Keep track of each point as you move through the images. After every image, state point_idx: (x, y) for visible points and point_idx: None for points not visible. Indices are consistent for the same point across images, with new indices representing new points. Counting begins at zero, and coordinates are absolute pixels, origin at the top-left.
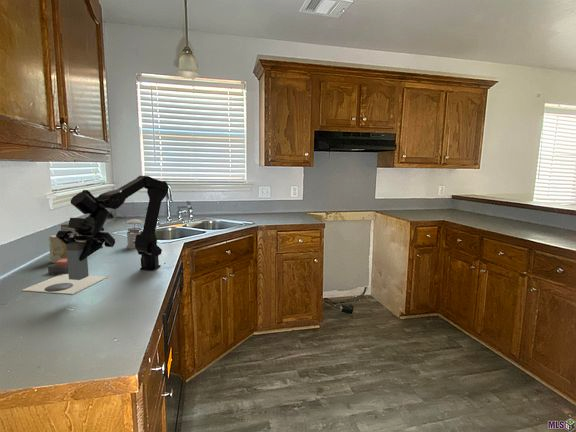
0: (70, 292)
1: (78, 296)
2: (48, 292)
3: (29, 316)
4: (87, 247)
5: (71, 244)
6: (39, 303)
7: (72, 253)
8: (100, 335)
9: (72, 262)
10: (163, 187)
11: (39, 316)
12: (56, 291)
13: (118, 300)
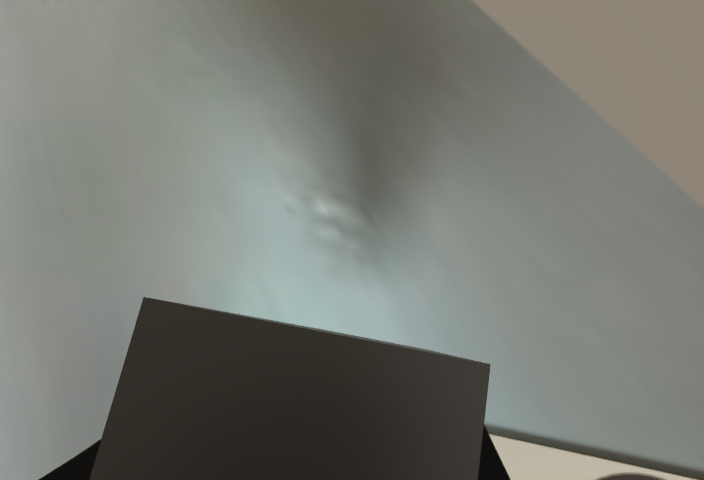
0: None
1: None
2: (649, 469)
3: (482, 127)
4: (57, 475)
5: (319, 350)
6: (559, 280)
7: (337, 333)
8: (108, 6)
9: (366, 338)
10: None
11: (433, 129)
12: (596, 475)
13: None
